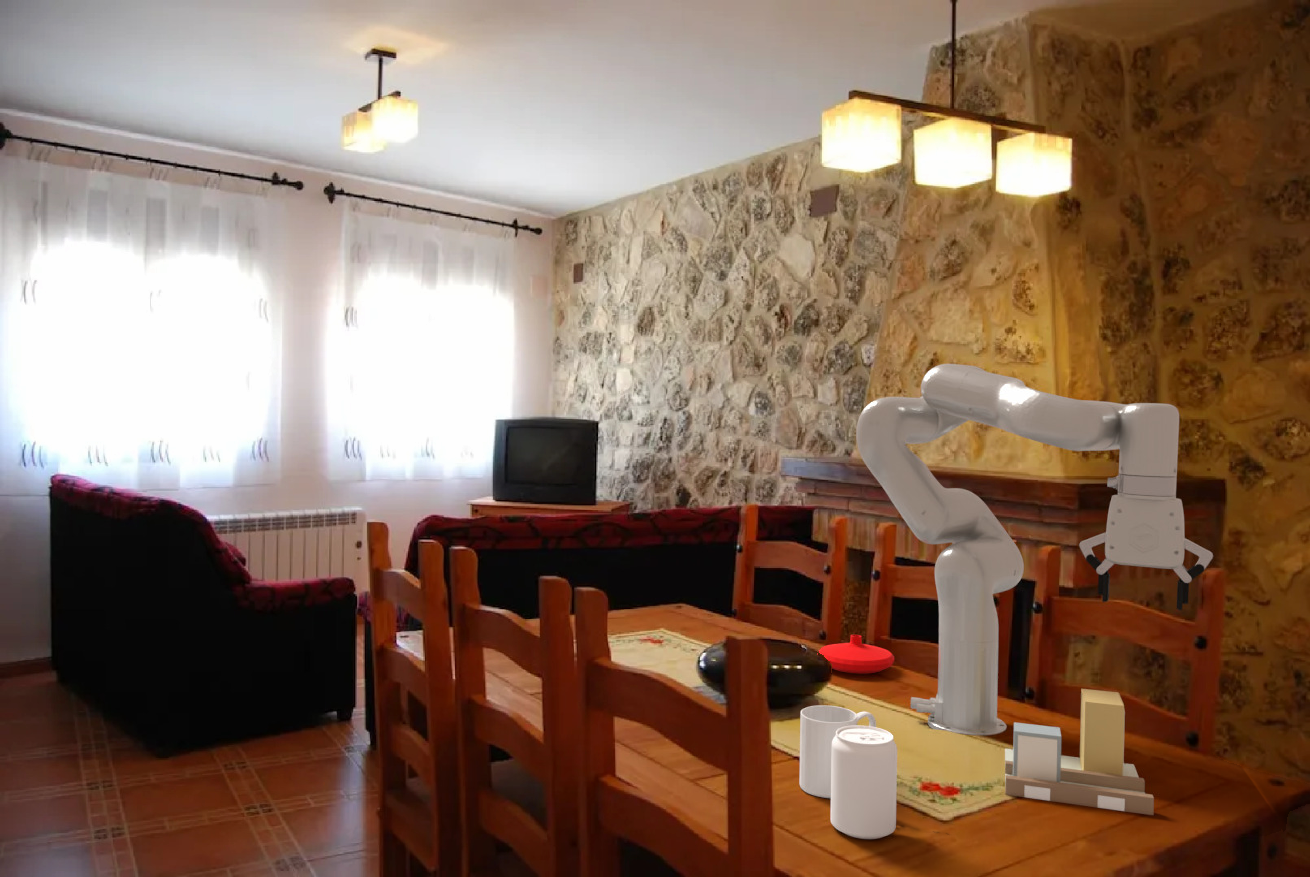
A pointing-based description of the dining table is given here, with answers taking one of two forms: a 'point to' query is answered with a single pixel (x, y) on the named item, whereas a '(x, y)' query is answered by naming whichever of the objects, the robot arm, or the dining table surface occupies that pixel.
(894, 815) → the beverage can
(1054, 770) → the box
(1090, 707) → the carton
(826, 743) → the mug
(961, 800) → the dining table surface
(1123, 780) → the shelf
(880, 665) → the red disc with nozzle
